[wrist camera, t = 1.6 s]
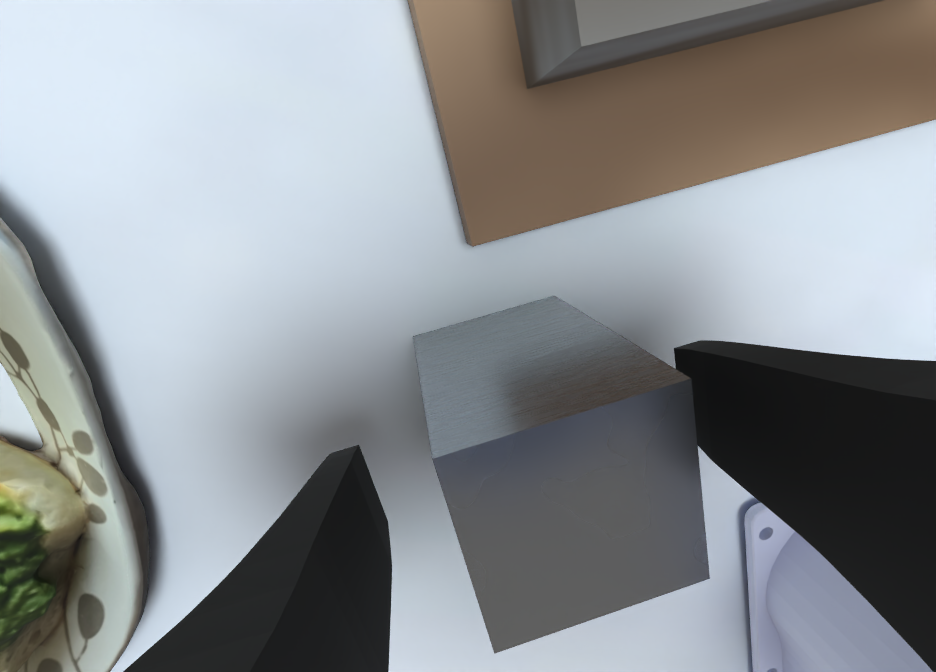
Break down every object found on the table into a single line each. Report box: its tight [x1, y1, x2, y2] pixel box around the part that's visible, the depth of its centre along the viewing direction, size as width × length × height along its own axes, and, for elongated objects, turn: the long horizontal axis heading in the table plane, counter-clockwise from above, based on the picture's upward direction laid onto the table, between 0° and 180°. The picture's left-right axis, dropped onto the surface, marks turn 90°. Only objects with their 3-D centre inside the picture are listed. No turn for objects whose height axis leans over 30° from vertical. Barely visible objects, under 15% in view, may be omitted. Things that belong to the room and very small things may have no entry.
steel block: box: [413, 296, 710, 653], centre depth 10 cm, size 4×4×6 cm
